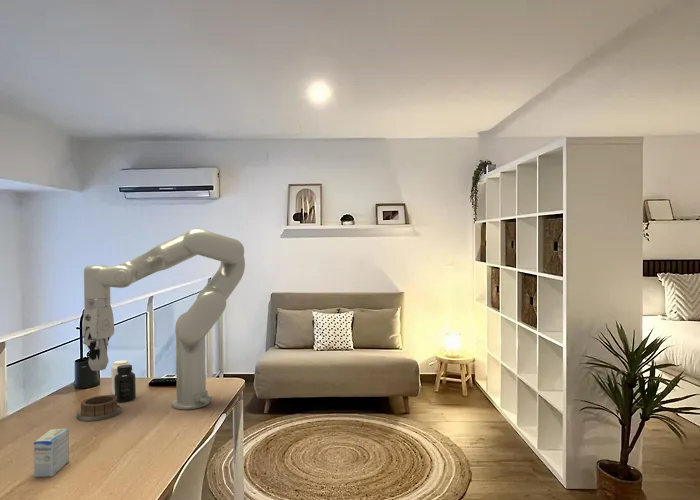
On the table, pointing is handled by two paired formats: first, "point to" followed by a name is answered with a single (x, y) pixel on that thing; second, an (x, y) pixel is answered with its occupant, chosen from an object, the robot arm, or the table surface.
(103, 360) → the salt shaker
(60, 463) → the medicine box
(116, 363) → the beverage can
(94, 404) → the walnut sleeve
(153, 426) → the table surface
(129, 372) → the supplement bottle
